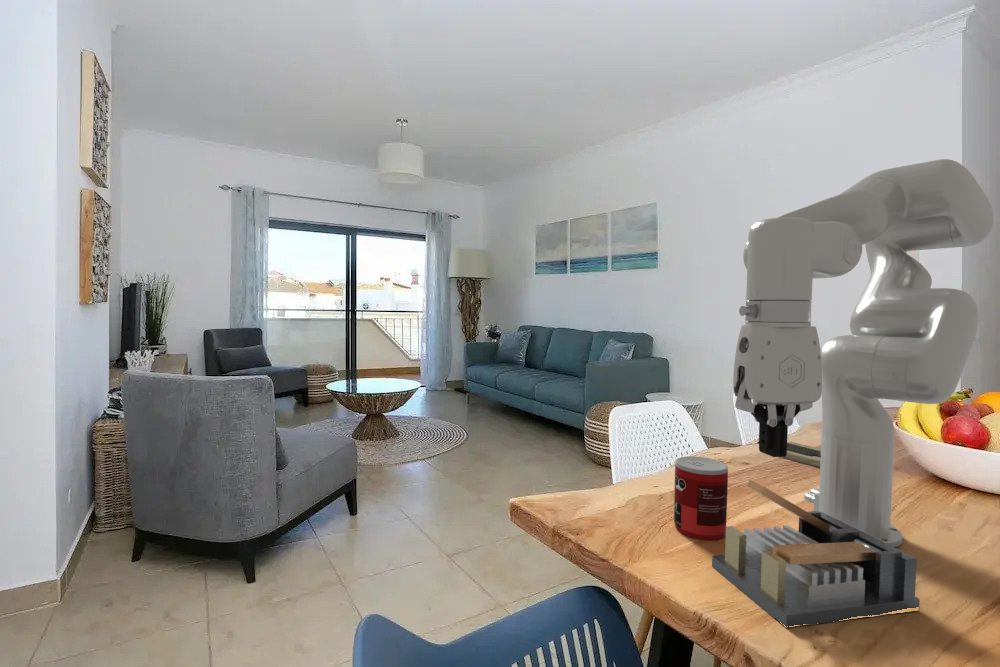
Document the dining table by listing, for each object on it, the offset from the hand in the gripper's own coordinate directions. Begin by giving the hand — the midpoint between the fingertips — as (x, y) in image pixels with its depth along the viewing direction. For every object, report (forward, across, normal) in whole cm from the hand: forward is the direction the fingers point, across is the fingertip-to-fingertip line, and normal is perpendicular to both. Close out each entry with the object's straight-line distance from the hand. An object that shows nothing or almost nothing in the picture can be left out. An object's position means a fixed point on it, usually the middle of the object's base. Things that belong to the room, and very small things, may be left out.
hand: (772, 453), depth 68 cm
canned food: (+17, -1, +15) cm, 22 cm away
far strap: (+8, +3, 0) cm, 9 cm away
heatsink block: (+17, +3, -3) cm, 17 cm away
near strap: (+11, +3, -7) cm, 13 cm away
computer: (+17, +48, +44) cm, 67 cm away
